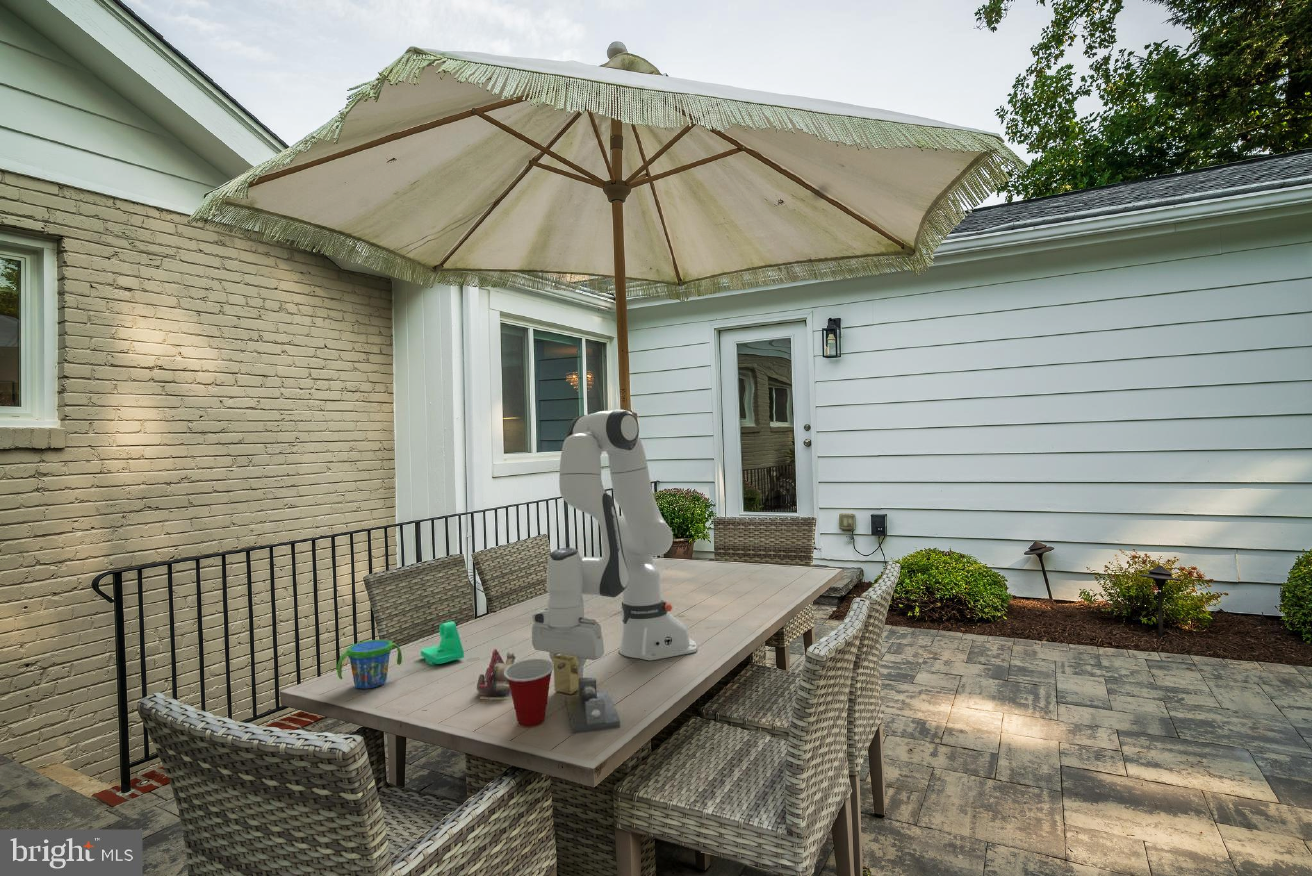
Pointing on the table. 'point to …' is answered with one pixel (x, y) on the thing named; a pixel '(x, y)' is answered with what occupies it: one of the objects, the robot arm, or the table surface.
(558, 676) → the block
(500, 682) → the brake caliper
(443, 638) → the camera mount
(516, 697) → the plastic cup
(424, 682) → the table surface
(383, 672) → the snack cup
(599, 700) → the shaft stand
